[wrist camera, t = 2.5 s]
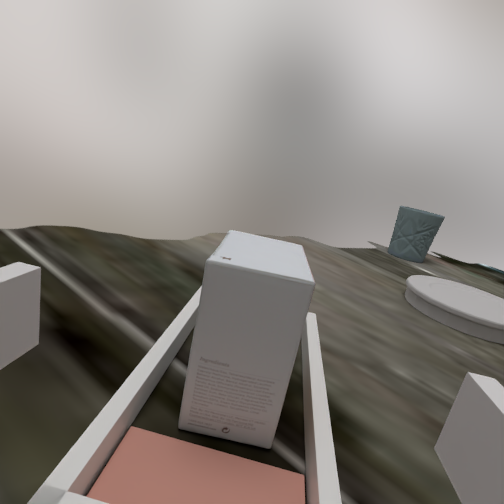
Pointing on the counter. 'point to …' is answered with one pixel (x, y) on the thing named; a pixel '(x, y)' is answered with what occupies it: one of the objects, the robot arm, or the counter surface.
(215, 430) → the small box
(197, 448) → the pad
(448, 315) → the lid
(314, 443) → the guide channel
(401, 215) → the drinking glass
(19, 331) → the robot arm
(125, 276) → the counter surface
